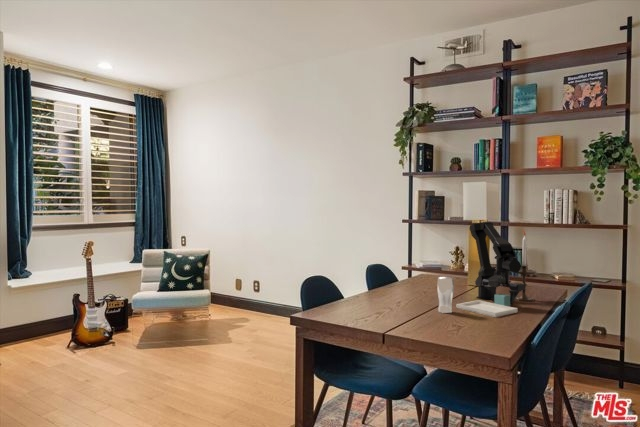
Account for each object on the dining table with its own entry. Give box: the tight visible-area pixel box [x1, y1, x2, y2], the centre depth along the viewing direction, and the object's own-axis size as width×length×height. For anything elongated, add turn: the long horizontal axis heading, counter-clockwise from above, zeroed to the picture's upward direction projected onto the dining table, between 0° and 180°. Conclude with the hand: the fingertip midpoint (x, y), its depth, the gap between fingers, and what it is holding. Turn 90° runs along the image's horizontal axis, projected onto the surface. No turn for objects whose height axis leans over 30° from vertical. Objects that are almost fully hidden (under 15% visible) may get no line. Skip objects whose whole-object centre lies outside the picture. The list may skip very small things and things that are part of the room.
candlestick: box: [512, 229, 537, 302], centre depth 224 cm, size 11×11×35 cm
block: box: [493, 293, 511, 307], centre depth 210 cm, size 5×5×5 cm
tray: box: [456, 299, 518, 318], centre depth 200 cm, size 20×16×2 cm
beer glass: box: [436, 276, 455, 314], centre depth 197 cm, size 7×7×15 cm
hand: (502, 302), depth 210 cm, fingers open, 9 cm apart
